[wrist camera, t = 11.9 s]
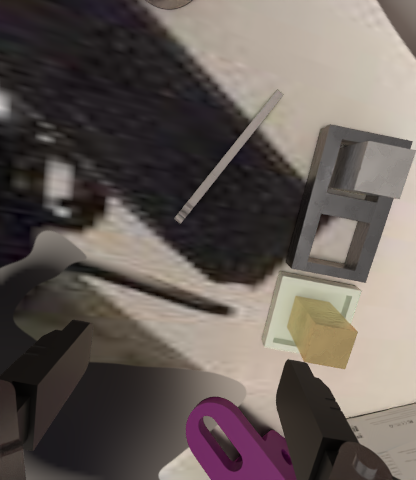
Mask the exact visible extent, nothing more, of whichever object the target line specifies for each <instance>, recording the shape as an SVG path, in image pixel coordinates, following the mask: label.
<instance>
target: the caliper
mask: <svg viewBox="0 0 416 480" xmlns="http://www.w3.org/2000/svg"><path fill="white" fill-rule="evenodd" d="M282 96H283V94H282V93H281V92H280V91H279V90H277V91H276V92H275V93H274V95H273V96H272V97H271V98H270V99H269V101H268V102H267V103H266V104H265V106H264V107H263V108H262V109H261V111H260V112H259V113H258V114H257V116H256V117H255V118H254V119H253V121H252V122H251V123H250V124H249V126H248V127H247V128H246V129H245V131H244V132H243V133H242V134H241V136H240V137H239V138H238V139H237V141H236V142H235V143H234V144H233V146H232V147H231V148H230V149H229V151H228V152H227V153H226V154H225V156H224V157H223V158H222V159H221V161H220V162H219V163H218V164H217V166H216V167H215V168H214V169H213V171H212V172H211V173H210V174H209V176H208V177H207V178H206V179H205V181H204V182H203V183H202V184H201V186H200V187H199V188H198V189H197V191H196V192H195V193H194V194H193V196H192V197H191V198H190V199H189V201H188V202H187V203H186V204H185V205H184V207H183V208H182V209H181V210H180V212H179V213H178V214H177V216H176V217H175V218H174V219H175V220H176V221H178V222H179V223H180V224H181V223H182V221H183V220H184V219H185V218H186V216H187V215H188V214H189V213H190V211H191V210H192V209H193V207H194V206H195V205H196V204H197V203H198V201H199V200H200V199H201V197H202V196H203V195H204V194H205V192H206V191H207V190H208V189H209V187H210V186H211V185H212V184H213V182H214V181H215V180H216V179H217V177H218V176H219V175H220V174H221V172H222V171H223V170H224V169H225V167H226V166H227V165H228V164H229V162H230V161H231V160H232V159H233V157H234V156H235V155H236V154H237V152H238V151H239V150H240V149H241V147H242V146H243V145H244V144H245V142H246V141H247V140H248V139H249V137H250V136H251V135H252V134H253V132H254V131H255V130H256V129H257V127H258V126H259V125H260V124H261V122H262V121H263V120H264V119H265V117H266V116H267V115H268V114H269V112H270V111H271V110H272V109H273V107H274V106H275V105H276V104H277V102H278V101H279V100H280V99H281V97H282Z"/></svg>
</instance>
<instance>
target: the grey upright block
mask: <svg viewBox="0 0 416 480" xmlns="http://www.w3.org/2000/svg"><path fill="white" fill-rule="evenodd" d="M415 152H416V150H411V149H406V148H401V147H397V146H392V145H387V144H382V143H377V142H372V141H366V142H362V143H357V144H353V145H349V146H345V147H341V148H339V152H338V155H337V159H336V162H335V166H334V170H333V173H332V177H331V180H330V184H329V187H328V188H329V189H334V190H339V191H344V192H349V193H354V194H359V195H367V196H377V197H386V198H395V199H400V196H401V193H402V190H403V187H404V185H405V182H406V179H407V176H408V173H409V170H410V167H411V164H412V161H413V158H414V155H415Z"/></svg>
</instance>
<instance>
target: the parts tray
mask: <svg viewBox="0 0 416 480" xmlns="http://www.w3.org/2000/svg"><path fill="white" fill-rule="evenodd" d="M361 292H362V291H361V290H360V289H359V288H357V287H356V286H355V285H349V284H344V283H339V282H334V281H328V280H323V279H318V278H313V277H308V276H302V275H297V274H292V273H287V272H281V271H280V272H279V275H278V279H277V283H276V287H275V291H274V295H273V298H272V302H271V306H270V310H269V314H268V318H267V321H266V325H265V329H264V333H263V337H262V342H263V345H264V347H265V348H271V349H276V350H282V351H287V352H293V353H298V354H300V352H299V350H298V348H297V346H296V344H295V342H294V340H293V338H292V336H291V334H290V332H289V330H288V328H287V325H288V321H289V318H290V314H291V310H292V307H293V303H294V299H295V296H300V297H305V298H310V299H316V300H321V301H326V302H330V303H331V304H332V305H333V306H334V307H335V308H336V309H337V310H338V312H339V313H340V314H341V315H342V316H343V317H344V318H345V319H346V320H347V321H348V322H349V323H350V324H351V322H352V319H353V316H354V313H355V310H356V307H357V304H358V301H359V298H360V295H361Z"/></svg>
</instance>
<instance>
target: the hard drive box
mask: <svg viewBox="0 0 416 480" xmlns="http://www.w3.org/2000/svg"><path fill="white" fill-rule="evenodd" d="M346 420H347V421H348V423H349V425H350V427H351V429H352V430H353V432H354V434H355V436H356V438H357V439H358V441H359V443H360V444H361V445H363V446H365V447H367V448H369V449H370V450H372V451H373V452H374V453H376V454H377V455H378V456H379V457H380V458H381V459H382V460H383V461H384V462H385V464H386V465H387V466H388V468H389V470H390V472H391V474H392V476H394V477H396V478H398V479H400V480H416V403H415V404H411V405H407V406H403V407H397V408H392V409H389V410H386V411H381V412H377V413H373V414H368V415H364V416H360V417H355V418H349V419H346Z"/></svg>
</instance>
